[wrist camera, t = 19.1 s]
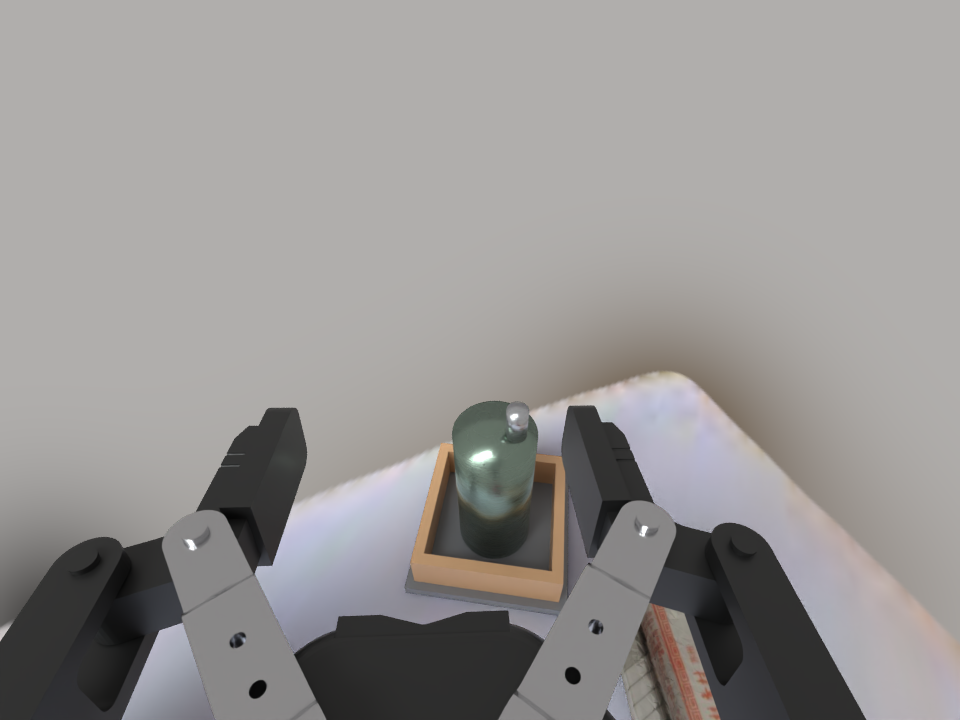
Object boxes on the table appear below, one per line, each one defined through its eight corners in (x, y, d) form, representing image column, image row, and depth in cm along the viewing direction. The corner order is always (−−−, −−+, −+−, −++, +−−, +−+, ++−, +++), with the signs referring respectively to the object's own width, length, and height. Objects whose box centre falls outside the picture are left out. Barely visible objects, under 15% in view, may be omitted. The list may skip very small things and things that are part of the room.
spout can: (454, 554, 38) (441, 439, 28) (465, 492, 42) (458, 373, 32) (525, 563, 37) (538, 448, 27) (530, 499, 41) (542, 380, 31)
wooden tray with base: (405, 592, 36) (399, 569, 34) (438, 462, 45) (435, 436, 43) (565, 616, 35) (572, 594, 32) (567, 477, 44) (572, 452, 41)
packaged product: (606, 555, 34) (743, 546, 34) (595, 585, 37) (720, 576, 38) (719, 965, 20) (941, 938, 21) (687, 955, 24) (880, 933, 24)
